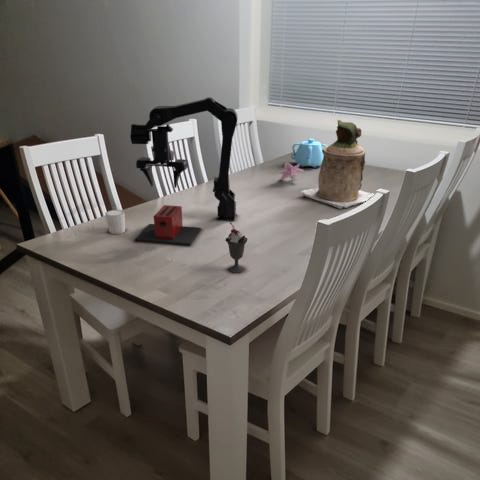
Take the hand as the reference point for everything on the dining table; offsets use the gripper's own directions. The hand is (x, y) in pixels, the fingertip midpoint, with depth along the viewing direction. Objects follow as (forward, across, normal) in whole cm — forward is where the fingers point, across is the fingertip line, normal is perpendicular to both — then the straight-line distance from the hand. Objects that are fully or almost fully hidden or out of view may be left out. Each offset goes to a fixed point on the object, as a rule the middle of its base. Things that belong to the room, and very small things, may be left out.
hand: (163, 186), depth 183 cm
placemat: (+12, -7, +18) cm, 23 cm away
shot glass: (+12, +13, +18) cm, 25 cm away
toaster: (+11, -7, +18) cm, 22 cm away
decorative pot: (+12, -51, -93) cm, 107 cm away
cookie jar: (+12, -67, -39) cm, 78 cm away
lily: (+12, -44, -59) cm, 75 cm away
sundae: (+12, -36, +41) cm, 56 cm away
